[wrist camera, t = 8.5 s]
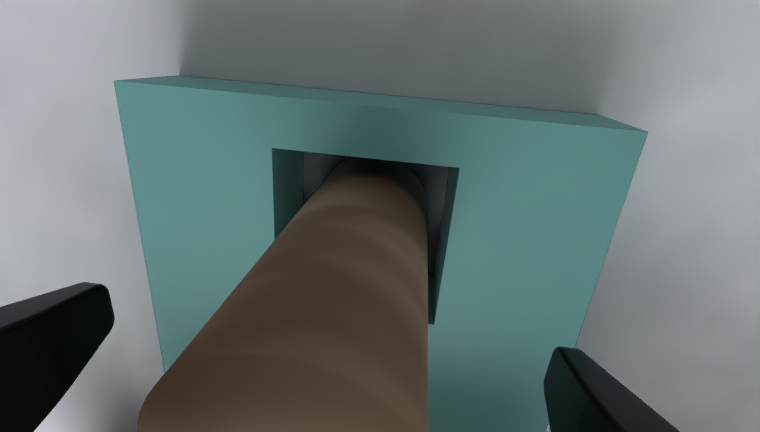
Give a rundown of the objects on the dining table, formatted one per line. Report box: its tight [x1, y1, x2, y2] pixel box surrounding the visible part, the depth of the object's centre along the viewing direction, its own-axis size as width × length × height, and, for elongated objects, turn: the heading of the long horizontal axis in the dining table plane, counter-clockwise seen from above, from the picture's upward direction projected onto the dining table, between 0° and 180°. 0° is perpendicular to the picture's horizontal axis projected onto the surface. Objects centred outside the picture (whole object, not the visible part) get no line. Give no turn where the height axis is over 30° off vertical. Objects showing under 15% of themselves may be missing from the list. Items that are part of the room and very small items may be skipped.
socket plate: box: [114, 76, 648, 432], centre depth 13 cm, size 14×17×8 cm
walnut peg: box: [138, 157, 428, 432], centre depth 10 cm, size 4×4×10 cm
